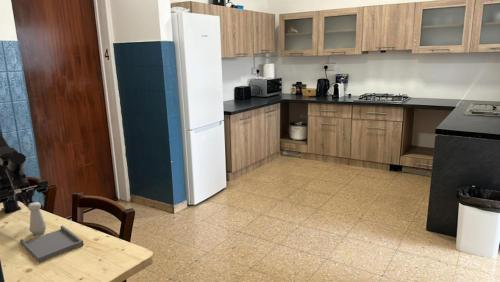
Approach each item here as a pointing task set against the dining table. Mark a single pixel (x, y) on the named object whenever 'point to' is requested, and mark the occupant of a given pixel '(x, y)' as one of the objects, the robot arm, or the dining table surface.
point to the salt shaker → (36, 219)
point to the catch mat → (52, 244)
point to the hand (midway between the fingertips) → (30, 208)
